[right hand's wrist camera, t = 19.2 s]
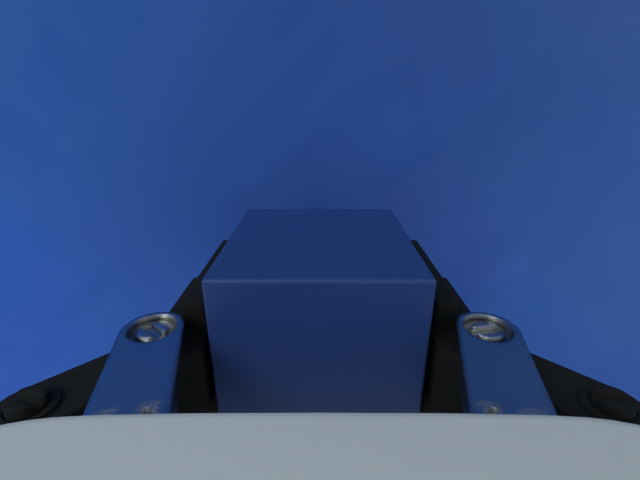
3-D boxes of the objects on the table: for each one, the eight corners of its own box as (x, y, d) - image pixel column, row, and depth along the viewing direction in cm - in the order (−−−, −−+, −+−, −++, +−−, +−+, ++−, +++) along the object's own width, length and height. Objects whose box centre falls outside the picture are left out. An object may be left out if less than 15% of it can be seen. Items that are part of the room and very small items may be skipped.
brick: (257, 341, 13) (224, 468, 9) (248, 208, 12) (199, 280, 7) (381, 341, 13) (414, 467, 9) (391, 208, 12) (438, 280, 7)
